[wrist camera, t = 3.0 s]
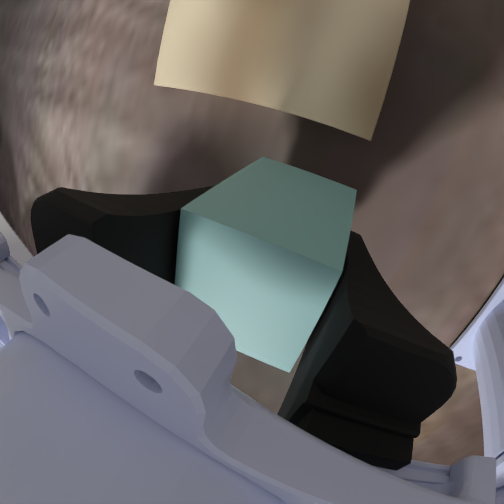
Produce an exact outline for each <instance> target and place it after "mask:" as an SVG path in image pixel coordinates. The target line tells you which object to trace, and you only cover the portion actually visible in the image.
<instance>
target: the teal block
mask: <svg viewBox="0 0 504 504" xmlns="http://www.w3.org/2000/svg"><path fill="white" fill-rule="evenodd" d="M356 193H357V190H356V189H353V188H351V187H348V186H345V185H343V184H340V183H338V182H335V181H332V180H330V179H327V178H324V177H322V176H319V175H316V174H313V173H311V172H308V171H305V170H302V169H299V168H296V167H293V166H291V165H288V164H285V163H282V162H279V161H276V160H272V159H269V158H266V157H261V158H260V159H258V160H256V161H255V162H253V163H251V164H250V165H248V166H246V167H245V168H243V169H241V170H240V171H238V172H237V173H235V174H233V175H232V176H230V177H228V178H227V179H225V180H224V181H222V182H221V183H219V184H217V185H216V186H214V187H213V188H211V189H210V190H208V191H207V192H205V193H203V194H202V195H200V196H199V197H197V198H196V199H194V200H193V201H191V202H190V203H188V204H187V205H185V206H184V207H182V208H181V212H180V223H179V234H178V246H177V259H176V274H175V285H176V286H178V287H180V288H182V289H184V290H186V291H188V292H190V293H191V294H193V295H194V296H196V297H197V298H198V299H200V300H201V301H203V302H204V303H205V304H207V305H208V306H210V307H211V308H212V309H214V310H215V311H216V312H217V314H218V315H219V317H220V318H221V320H222V321H223V322H224V324H225V325H226V327H227V328H228V329H229V331H230V332H231V334H232V335H233V337H234V339H235V348H236V350H237V351H239V352H242V353H244V354H246V355H248V356H251V357H253V358H255V359H258V360H260V361H262V362H265V363H267V364H269V365H272V366H274V367H277V368H279V369H282V370H284V371H286V372H290V371H291V369H292V367H293V365H294V364H295V362H296V360H297V358H298V357H299V355H300V353H301V351H302V349H303V348H304V346H305V344H306V342H307V340H308V338H309V337H310V335H311V333H312V331H313V329H314V327H315V325H316V323H317V322H318V320H319V318H320V316H321V314H322V312H323V310H324V308H325V306H326V304H327V302H328V300H329V298H330V296H331V294H332V292H333V290H334V288H335V286H336V284H337V282H338V280H339V278H340V276H341V274H342V271H343V266H344V261H345V256H346V251H347V246H348V241H349V235H350V230H351V224H352V218H353V212H354V206H355V200H356Z"/></svg>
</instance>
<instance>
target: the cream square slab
mask: <svg viewBox="0 0 504 504" xmlns="http://www.w3.org/2000/svg"><path fill="white" fill-rule="evenodd" d="M409 4H410V0H171V1H170V5H169V9H168V14H167V18H166V22H165V27H164V32H163V37H162V42H161V47H160V52H159V58H158V63H157V69H156V75H155V82H154V85H157V86H165V87H172V88H179V89H185V90H191V91H197V92H202V93H208V94H213V95H218V96H223V97H227V98H232V99H237V100H241V101H245V102H249V103H253V104H257V105H261V106H265V107H269V108H273V109H277V110H280V111H284V112H287V113H291V114H294V115H297V116H301V117H304V118H307V119H310V120H313V121H317V122H320V123H323V124H326V125H329V126H331V127H334V128H337V129H340V130H343V131H346V132H348V133H351V134H354V135H356V136H359V137H362V138H364V139H367V140H369V141H371V138H372V135H373V132H374V129H375V126H376V123H377V120H378V117H379V114H380V111H381V108H382V105H383V101H384V98H385V95H386V91H387V88H388V85H389V81H390V78H391V74H392V71H393V67H394V64H395V60H396V57H397V53H398V49H399V45H400V41H401V37H402V34H403V29H404V25H405V21H406V17H407V13H408V8H409Z"/></svg>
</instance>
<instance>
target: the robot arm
mask: <svg viewBox="0 0 504 504" xmlns="http://www.w3.org/2000/svg"><path fill="white" fill-rule="evenodd" d="M213 187H214V186H211V187H205V188H199V189H193V190H186V191H179V192H172V193H162V194H147V195H119V194H104V193H94V192H86V191H80V190H74V189H68V188H63V187H61V188H57V189H55V190H53V191H51V192H48V193H46V194H44V195H42V196H41V197H39V198H37V199H36V200H35V201H34V203H33V206H32V209H31V226H32V231H33V236H34V241H35V245H36V250H37V255H36V256H34V257H33V258H32V259H30V260H29V261H27V262H26V263H25V264H24V265H23V267H22V266H21V265H20V264H19V263H18V262H17V261H16V260H15V259H14V258H12V257H11V256H10V252H9V247H8V244H7V241H6V239H5V237H4V236H3V234H2V233H0V504H504V278H503V279H502V281H501V282H500V284H499V285H498V287H497V288H496V290H495V291H494V293H493V294H492V295H491V297H490V298H489V300H488V301H487V302H486V304H485V305H484V307H483V308H482V309H481V311H480V312H479V313H478V315H477V316H476V317H475V318H474V320H473V321H472V322H471V323H470V325H469V326H468V327H467V328H466V330H465V331H464V332H463V333H462V334H461V336H460V337H459V338H458V339H457V340H456V342H455V343H454V344H453V345H452V346H451V347H450V348H448V347H447V346H446V345H445V344H443V343H442V342H441V341H440V340H438V339H437V338H436V337H435V336H433V335H432V334H431V333H430V332H429V331H428V330H427V329H425V328H424V327H423V326H422V325H421V324H420V323H419V322H418V321H417V320H416V319H415V318H414V317H413V316H412V315H411V314H410V313H409V312H408V310H407V309H406V308H405V307H404V306H403V305H402V304H401V302H400V301H399V300H398V299H397V298H396V296H395V295H394V294H393V292H392V291H391V289H390V288H389V287H388V285H387V284H386V282H385V281H384V279H383V278H382V276H381V274H380V273H379V271H378V269H377V267H376V266H375V264H374V262H373V260H372V258H371V256H370V254H369V252H368V250H367V248H366V246H365V244H364V241H363V239H362V237H361V235H360V234H357V233H355V232H353V231H350V235H349V241H348V246H347V251H346V256H345V261H344V266H343V271H342V274H341V276H340V278H339V280H338V282H337V284H336V286H335V288H334V290H333V292H332V294H331V296H330V298H329V300H328V302H327V304H326V306H325V308H324V310H323V312H322V314H321V316H320V318H319V320H318V322H317V323H316V325H315V327H314V329H313V331H312V333H311V335H310V337H309V338H308V341H307V344H306V347H305V350H304V352H303V355H302V358H301V360H300V363H299V365H298V368H297V370H296V373H295V375H294V378H293V380H292V382H291V385H290V387H289V390H288V392H287V394H286V396H285V399H284V401H283V403H282V405H281V408H280V410H279V412H278V414H275V413H274V412H272V411H271V410H269V409H267V408H266V407H264V406H263V405H261V404H260V403H258V402H257V401H255V400H253V399H252V398H250V397H249V396H247V395H246V394H244V393H243V392H241V391H240V390H238V389H237V388H236V387H234V386H233V385H231V376H232V373H233V370H234V367H235V364H236V361H237V358H236V348H235V339H234V337H233V335H232V334H231V332H230V331H229V329H228V328H227V327H226V325H225V324H224V322H223V321H222V320H221V318H220V317H219V315H218V314H217V312H216V311H215V310H214V309H212V308H211V307H210V306H208V305H207V304H205V303H204V302H203V301H201V300H200V299H198V298H197V297H196V296H194V295H193V294H191V293H190V292H188V291H186V290H184V289H182V288H180V287H178V286H176V285H175V274H176V259H177V246H178V234H179V223H180V212H181V208H182V207H184V206H185V205H187V204H188V203H190V202H191V201H193V200H194V199H196V198H197V197H199V196H200V195H202V194H203V193H205V192H207V191H208V190H210V189H211V188H213ZM458 356H459V357H458ZM455 364H458V365H461V366H464V367H467V368H470V369H473V370H475V371H476V374H477V380H478V387H479V394H480V402H481V411H482V421H483V435H484V456H468V457H465V458H462V459H460V460H459V461H457V462H455V463H454V464H453V465H452V466H447V465H440V464H433V463H427V462H421V461H416V460H411V459H412V450H413V439H414V438H416V437H418V436H419V434H420V427H421V422H422V421H423V420H425V419H426V418H427V417H429V416H430V415H431V414H432V413H434V412H435V411H436V410H437V409H439V408H440V407H441V406H442V405H443V404H445V402H446V401H447V400H448V399H449V398H450V397H451V396H452V394H453V392H454V390H455V388H456V382H457V375H456V367H455Z"/></svg>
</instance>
